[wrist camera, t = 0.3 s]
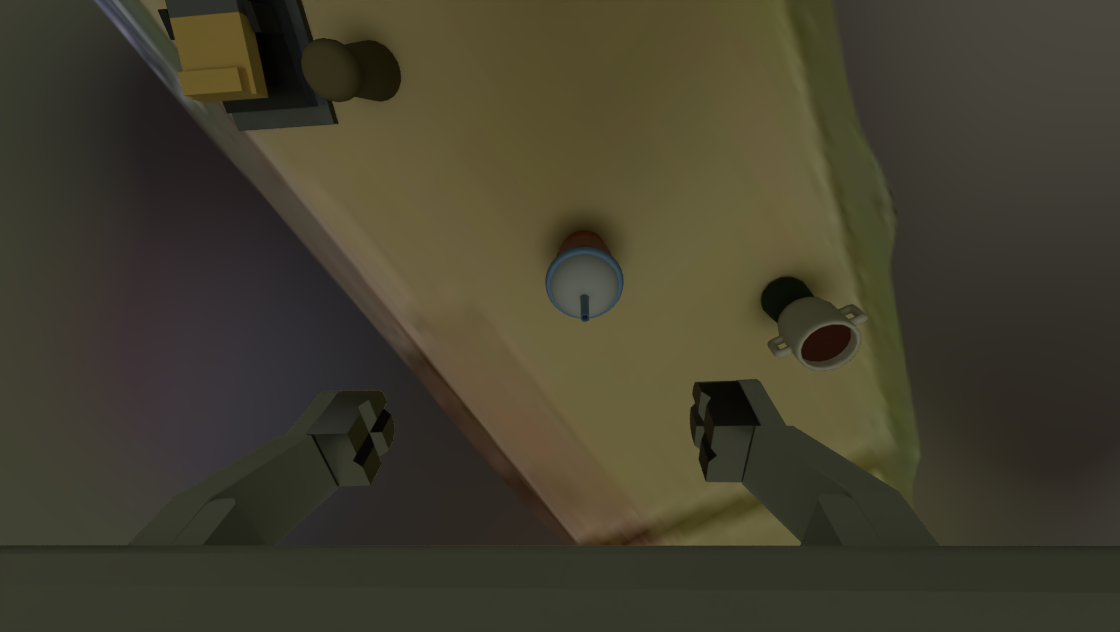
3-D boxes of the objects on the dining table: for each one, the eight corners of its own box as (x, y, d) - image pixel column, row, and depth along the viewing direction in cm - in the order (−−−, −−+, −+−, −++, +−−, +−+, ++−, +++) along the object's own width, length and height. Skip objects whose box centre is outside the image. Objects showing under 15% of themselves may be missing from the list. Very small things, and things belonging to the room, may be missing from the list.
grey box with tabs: (155, -90, 41) (87, -116, 36) (270, -103, 40) (219, -132, 35) (244, 130, 51) (202, 136, 46) (338, 123, 50) (307, 129, 45)
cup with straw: (539, 237, 57) (523, 298, 41) (600, 208, 54) (609, 262, 39) (568, 291, 60) (564, 366, 45) (626, 266, 58) (644, 336, 43)
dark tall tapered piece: (411, 78, 48) (369, 79, 38) (376, 112, 50) (328, 121, 40) (371, 26, 45) (316, 14, 36) (336, 65, 47) (275, 62, 38)
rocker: (164, -60, 40) (133, -79, 37) (233, -67, 39) (207, -87, 36) (204, 102, 43) (179, 95, 40) (268, 97, 43) (247, 90, 40)
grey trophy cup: (754, 330, 62) (792, 387, 51) (735, 295, 60) (771, 346, 48) (828, 296, 59) (887, 348, 48) (813, 256, 56) (871, 302, 45)
